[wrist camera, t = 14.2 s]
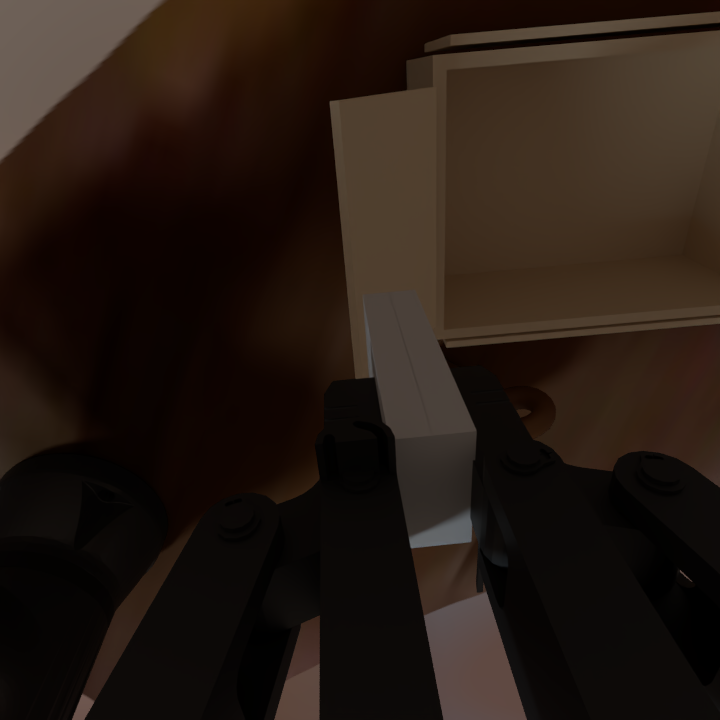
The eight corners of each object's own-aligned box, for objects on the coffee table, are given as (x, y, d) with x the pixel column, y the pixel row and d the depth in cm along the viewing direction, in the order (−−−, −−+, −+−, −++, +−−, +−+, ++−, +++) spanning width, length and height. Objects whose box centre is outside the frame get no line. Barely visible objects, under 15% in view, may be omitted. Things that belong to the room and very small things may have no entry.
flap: (338, 100, 17) (329, 101, 17) (363, 387, 23) (356, 385, 23) (436, 86, 22) (428, 87, 22) (436, 326, 27) (429, 325, 28)
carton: (411, 292, 37) (433, 350, 29) (405, 46, 29) (432, 35, 21) (680, 268, 37) (774, 320, 29) (745, 17, 29) (896, -4, 21)
